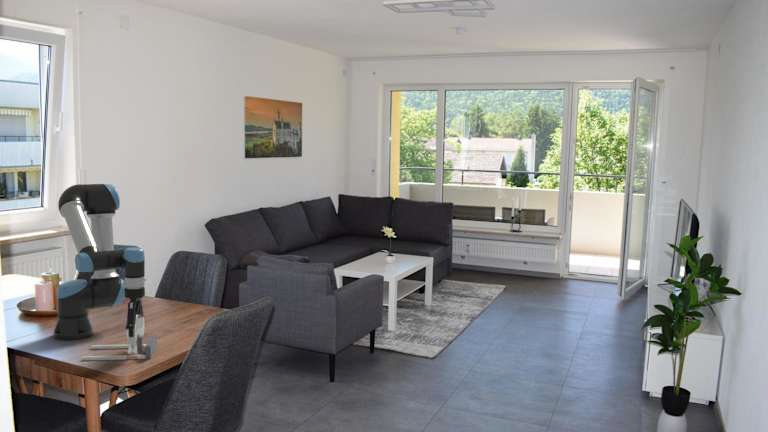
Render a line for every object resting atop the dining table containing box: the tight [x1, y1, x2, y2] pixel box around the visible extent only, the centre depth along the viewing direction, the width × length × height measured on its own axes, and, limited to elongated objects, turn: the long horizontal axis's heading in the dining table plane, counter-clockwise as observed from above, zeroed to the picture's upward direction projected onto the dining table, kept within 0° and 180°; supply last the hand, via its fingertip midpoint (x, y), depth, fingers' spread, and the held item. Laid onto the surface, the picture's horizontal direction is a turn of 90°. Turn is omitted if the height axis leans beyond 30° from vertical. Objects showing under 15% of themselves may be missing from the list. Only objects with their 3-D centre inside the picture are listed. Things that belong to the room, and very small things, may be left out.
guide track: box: [81, 334, 158, 362], centre depth 253 cm, size 25×14×5 cm, turn 101°
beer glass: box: [125, 314, 145, 355], centre depth 254 cm, size 7×7×15 cm
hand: (135, 339), depth 254 cm, fingers open, 13 cm apart
